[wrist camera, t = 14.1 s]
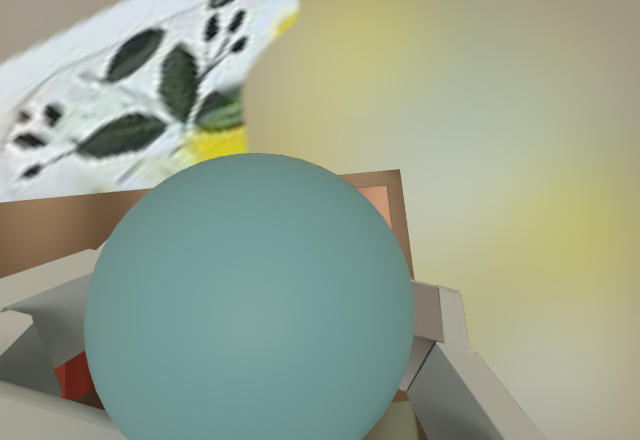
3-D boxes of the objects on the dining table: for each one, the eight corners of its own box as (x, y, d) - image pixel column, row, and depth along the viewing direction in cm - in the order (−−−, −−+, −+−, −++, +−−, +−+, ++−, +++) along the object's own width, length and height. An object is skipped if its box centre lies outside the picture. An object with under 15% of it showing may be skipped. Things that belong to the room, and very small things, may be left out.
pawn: (353, 227, 15) (448, 50, 4) (365, 345, 14) (535, 598, 3) (238, 238, 15) (-34, 95, 4) (245, 357, 14) (-66, 657, 3)
